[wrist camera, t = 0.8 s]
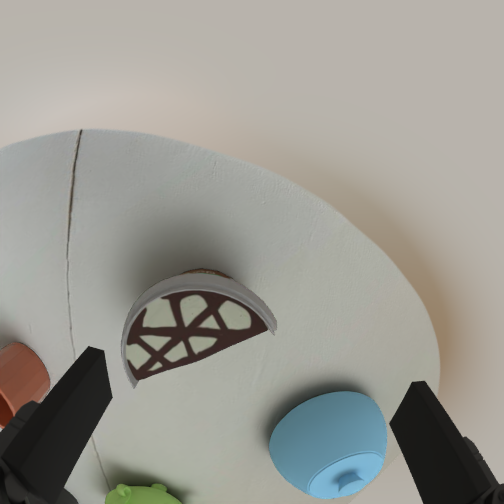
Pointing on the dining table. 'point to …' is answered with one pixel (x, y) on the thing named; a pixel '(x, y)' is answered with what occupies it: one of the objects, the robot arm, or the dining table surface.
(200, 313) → the food container
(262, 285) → the dining table surface
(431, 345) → the dining table surface
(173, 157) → the dining table surface
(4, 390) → the mug
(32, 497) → the vase
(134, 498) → the teapot
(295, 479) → the sugar bowl
